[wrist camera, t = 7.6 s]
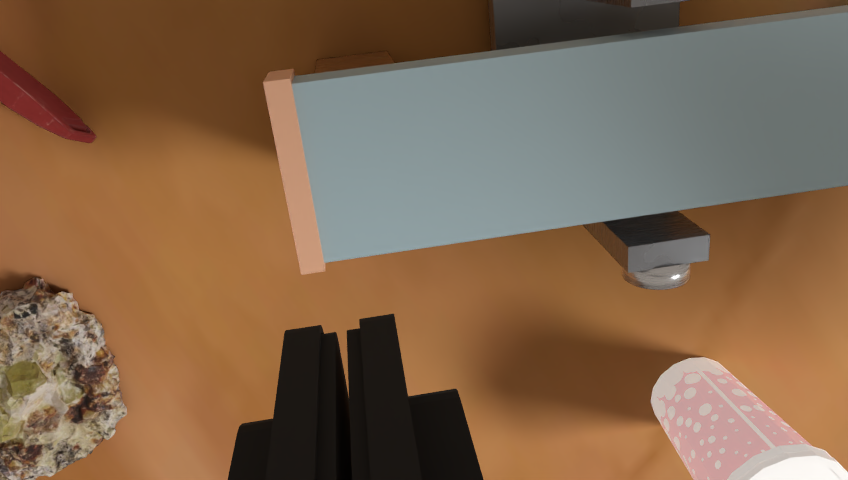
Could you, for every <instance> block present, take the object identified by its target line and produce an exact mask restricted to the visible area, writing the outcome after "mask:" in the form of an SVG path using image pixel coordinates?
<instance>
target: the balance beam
mask: <svg viewBox="0 0 848 480" xmlns="http://www.w3.org/2000/svg"><path fill="white" fill-rule="evenodd" d="M263 85H264V90H265V95H266V100H267V105H268V110H269V115H270V120H271V125H272V130H273V135H274V140H275V145H276V150H277V155H278V160H279V165H280V170H281V175H282V181H283V186H284V191H285V196H286V201H287V206H288V211H289V216H290V221H291V226H292V231H293V236H294V241H295V246H296V251H297V256H298V261H299V266H300V271H301V275H303V274H309V273H316V272H323V271H325V263H326V262H333V261H339V260H346V259H353V258H360V257H366V256H373V255H380V254H387V253H393V252H400V251H407V250H414V249H421V248H427V247H434V246H441V245H448V244H454V243H461V242H468V241H475V240H481V239H488V238H495V237H502V236H509V235H515V234H522V233H529V232H536V231H542V230H549V229H556V228H563V227H570V226H576V225H583V224H590V223H597V222H603V221H610V220H617V219H624V218H630V217H637V216H644V215H651V214H658V213H664V212H671V211H678V210H685V209H691V208H698V207H705V206H712V205H719V204H725V203H732V202H739V201H746V200H752V199H759V198H766V197H773V196H779V195H786V194H793V193H800V192H807V191H813V190H820V189H827V188H834V187H840V186H847V185H848V5H845V6H837V7H829V8H821V9H813V10H806V11H798V12H790V13H782V14H774V15H767V16H759V17H751V18H743V19H735V20H728V21H720V22H712V23H704V24H696V25H689V26H681V27H673V28H665V29H658V30H650V31H642V32H634V33H626V34H619V35H611V36H603V37H595V38H587V39H580V40H572V41H564V42H556V43H548V44H541V45H533V46H525V47H517V48H509V49H502V50H494V51H486V52H478V53H470V54H463V55H455V56H447V57H439V58H432V59H424V60H416V61H408V62H400V63H393V64H385V65H377V66H369V67H361V68H354V69H346V70H338V71H330V72H322V73H315V74H307V75H299V76H295V73H294V69H287V70H279V71H272V72H269V73H268V74H267V76H266V78H265V79H264V81H263Z"/></svg>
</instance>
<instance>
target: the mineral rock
mask: <svg viewBox="0 0 848 480" xmlns="http://www.w3.org/2000/svg"><path fill="white" fill-rule="evenodd" d="M103 336H104V330H103V328H102V324H101V323H100V322H99V321H98V320H97V319H96V318H95V315H94V314H89V313H84V312H82V311H79V306H78V303H77V301H76V300H74V299H73V293H66V292H63V291H62V292H59V293H57V294H55V293H54V292H53V291H51V289H50V287H49V285H48V284H47V283H45V282H44V279H41V278H32V279H30V280H29V281H27V282H26V283H25V284H24V287H23V288H22V289H19V290H15V291H10V290H6V291H3V292H2V293H1V294H0V480H35V479H36V478H37V476H44V475H46V476H49V477H51V476H52V475H54V474H56V473H57V472H59V471H60V470H62V469H63V468H65V467H66V466H67V465H70V464H72V463H74V462H75V461H76V460H80V459H82V458H86V456H87V454H88V453H89V454H91V453H92V451H93V449H94V448H95V447H96V446H98V445H99V444H100V443H101V442H102V441H103V438H104V439H107V440H109V439H110V438H111V437H112V436H113V435H114V434H115V431H116V429H115V425H116V423H117V422H118V421H119V420H120V419H121V418H122V417H124V416H125V415H126V414H127V407H126V406H125V405H124V404H123V402H122V392H121V391H120V390H119V388H118V385H119V382H120V380H119V372H118V370H117V366H116V365H115V364H114V363H113V359H114V357H115V356H113V355H112V354H111V352H110V350H109V349H108V348H107V346H106V345H105V339H104V338H103Z"/></svg>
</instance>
